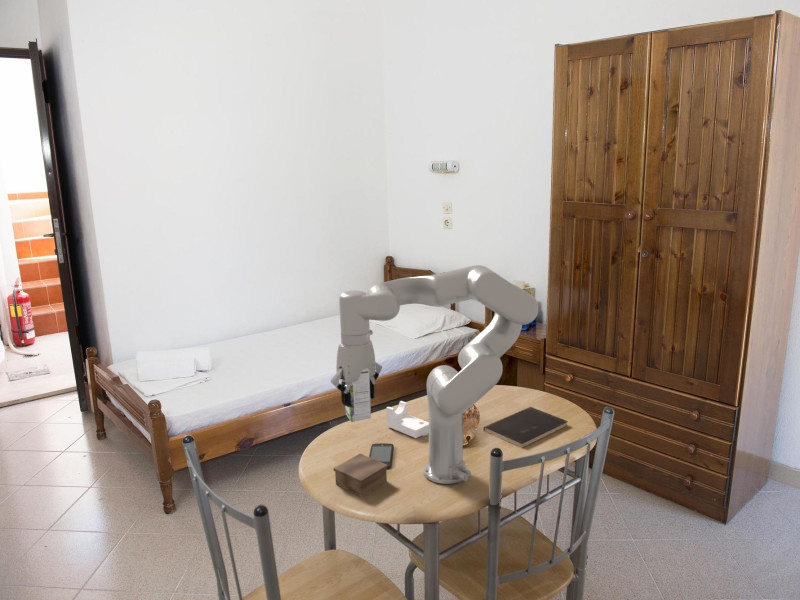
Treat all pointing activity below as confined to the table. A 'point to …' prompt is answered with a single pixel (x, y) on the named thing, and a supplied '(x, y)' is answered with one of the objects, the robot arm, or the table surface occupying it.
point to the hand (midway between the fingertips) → (358, 400)
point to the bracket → (406, 421)
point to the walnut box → (361, 474)
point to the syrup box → (360, 398)
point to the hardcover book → (525, 426)
